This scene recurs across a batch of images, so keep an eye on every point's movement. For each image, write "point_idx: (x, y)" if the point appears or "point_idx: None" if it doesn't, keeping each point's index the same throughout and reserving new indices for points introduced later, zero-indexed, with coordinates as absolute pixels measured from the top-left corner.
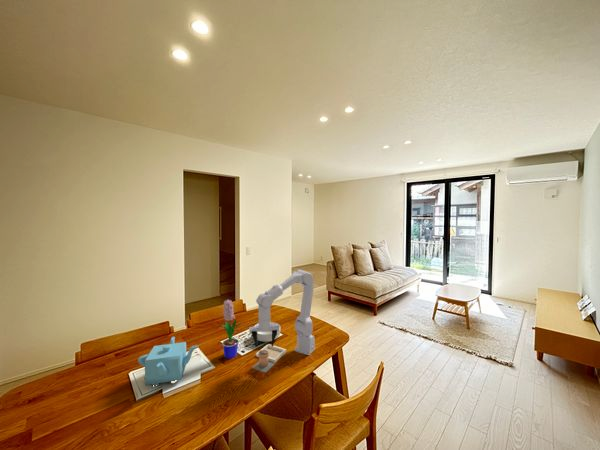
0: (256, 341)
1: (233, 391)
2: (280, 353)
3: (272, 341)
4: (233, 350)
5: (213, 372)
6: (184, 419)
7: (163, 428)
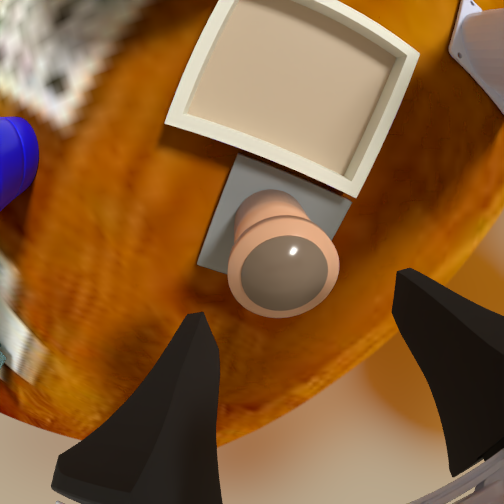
0: (213, 427)
1: None
2: (389, 105)
3: (427, 367)
4: (3, 199)
5: (36, 302)
6: None
7: None
